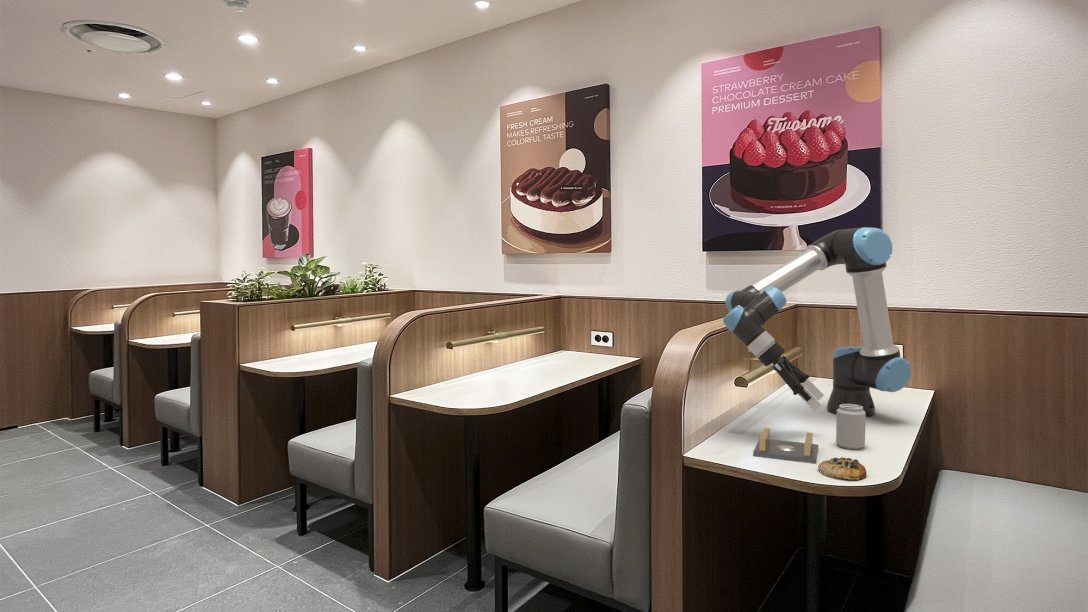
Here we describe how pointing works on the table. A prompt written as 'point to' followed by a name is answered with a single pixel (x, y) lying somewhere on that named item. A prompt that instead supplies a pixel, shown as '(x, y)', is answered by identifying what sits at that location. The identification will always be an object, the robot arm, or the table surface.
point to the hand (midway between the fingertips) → (819, 403)
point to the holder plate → (786, 448)
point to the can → (850, 426)
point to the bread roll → (843, 468)
